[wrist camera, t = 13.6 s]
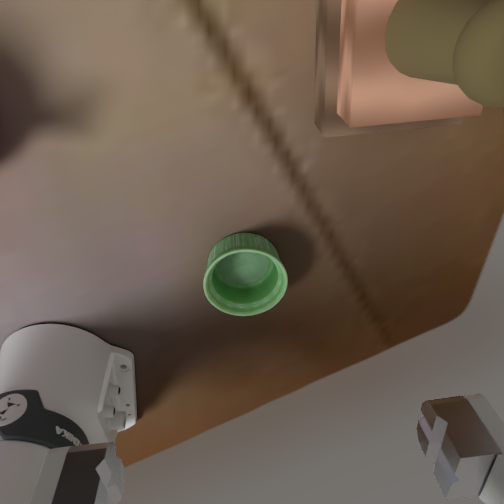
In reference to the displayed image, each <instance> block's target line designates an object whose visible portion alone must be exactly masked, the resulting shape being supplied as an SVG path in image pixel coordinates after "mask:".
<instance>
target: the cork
mask: <svg viewBox="0 0 504 504" xmlns="http://www.w3.org/2000/svg"><path fill="white" fill-rule="evenodd" d="M385 50H386V53H387V55H388V58H389V60H390V63H391V64H392V65H393V66H394V67H395V68H396V69H397V70H398V72H400V73H402V74H404V75H406V76H408V77H411V78H418V79H424V80H430V81H436V82H442V83H449V84H455V85H458V86H459V88H460V89H461V90H462V91H463V92H464V94H465V95H466V96H467V97H468V98H469V99H471V100H473V101H474V102H477V103H479V104H481V105H483V106H485V107H492V108H504V0H398V1H397V3H396V4H395V6H394V8H393V10H392V12H391V14H390V16H389V18H388V22H387V26H386V31H385Z"/></svg>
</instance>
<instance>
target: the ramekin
mask: <svg viewBox="0 0 504 504" xmlns="http://www.w3.org/2000/svg"><path fill="white" fill-rule="evenodd" d="M287 285H288V276H287V272H286V269H285V267H284V265H283V264H282V262H281V261H280V258H279V256H278V253H277V251H276V249H275V247H274V246H273V245H272V244H271V242H270V241H268V240H267V239H266V238H264V237H262V236H260V235H257V234H252V233H237V234H233V235H230V236H228V237H226V238H224V239H222V240H221V241H219V242H218V243H217V244H216V245H215V246H214V248H213V249H212V251H211V252H210V255H209V259H208V264H207V270H206V273H205V276H204V280H203V288H204V292H205V295H206V297H207V299H208V300H209V302H210V303H211V304H212V305H213V306H214V307H216V308H217V309H219V310H220V311H222V312H225V313H227V314H231V315H236V316H251V315H256V314H259V313H262V312H265V311H267V310H269V309H271V308H272V307H274V306H275V305H276V304H277V303H278V302H279V301H280V300H281V299H282V297H283V296H284V294H285V292H286V289H287Z"/></svg>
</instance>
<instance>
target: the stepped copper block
mask: <svg viewBox="0 0 504 504" xmlns="http://www.w3.org/2000/svg"><path fill="white" fill-rule="evenodd" d="M397 1H398V0H316V73H315V125H316V126H317V128H318V129H319V131H320V132H321V134H322V135H323V137H324V138H325V137H336V136H346V135H356V134H366V133H377V132H387V131H397V130H407V129H418V128H428V127H438V126H448V125H459V124H462V122H463V117H465V116H475V115H481V113H482V109H483V105H481V104H479V103H477V102H474V101H473V100H471V99H469V98H468V97H467V96H466V95H465V94H464V92H463V91H462V90H461V89H460V88H459V86H458V85H455V84H449V83H442V82H436V81H430V80H424V79H418V78H411V77H408V76H406V75H404V74H402V73H400V72H398V70H397V69H396V68H395V67H394V66H393V65H392V64H391V63H390V60H389V58H388V55H387V53H386V50H385V31H386V26H387V22H388V18H389V16H390V14H391V12H392V10H393V8H394V6H395V4H396V3H397Z"/></svg>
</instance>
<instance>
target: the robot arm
mask: <svg viewBox="0 0 504 504" xmlns="http://www.w3.org/2000/svg"><path fill="white" fill-rule="evenodd" d="M421 411H422V413H423V415H424V416H423V417H422V418H420V419H419V420H418V425H417V434H418V440H419V443H420V446H421V449H422V451H423V453H424V455H425V457H426V458H428V459H429V460H430V461H431V462H433V463H434V464H435V468H434V473H433V474H434V476H435V478H436V480H437V482H438V484H439V486H440V488H441V490H442V493H443V494H444V497H445V499H446V500H448V499H458V498H468V497H477V496H480V497H479V499H480V500H482V501H483V502H484V503H485V504H504V422H503V420H502V419H501V417H500V416H499V415H498V413H497V412H496V410H495V409H494V408H493V406H492V405H491V403H490V402H489V401H488V399H487V398H486V397H485V396H484V395H482V394H474V395H467V396H456V397H449V398H442V399H435V400H428V401H425V402H424V403H422V407H421ZM136 420H137V403H136V385H135V367H134V355H133V354H132V353H131V352H130V351H128V350H125V349H122V348H119V347H115V346H112V345H110V344H108V343H106V342H104V341H103V340H101V339H100V338H98V337H97V336H95V335H93V334H91V333H89V332H87V331H85V330H82V329H79V328H76V327H72V326H67V325H60V324H39V325H33V326H29V327H26V328H23V329H20V330H18V331H16V332H15V333H13V334H12V335H10V336H9V337H8V338H7V339H6V341H5V342H4V344H3V345H2V348H1V351H0V504H118V502H119V501H120V500H121V499H122V495H123V489H124V468H123V464H122V461H121V459H120V458H118V457H116V456H115V454H116V447H115V445H114V443H115V440H116V436H117V432H119V431H122V430H125V429H127V428H129V427H131V426H133V425H134V424H135V423H136Z"/></svg>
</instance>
